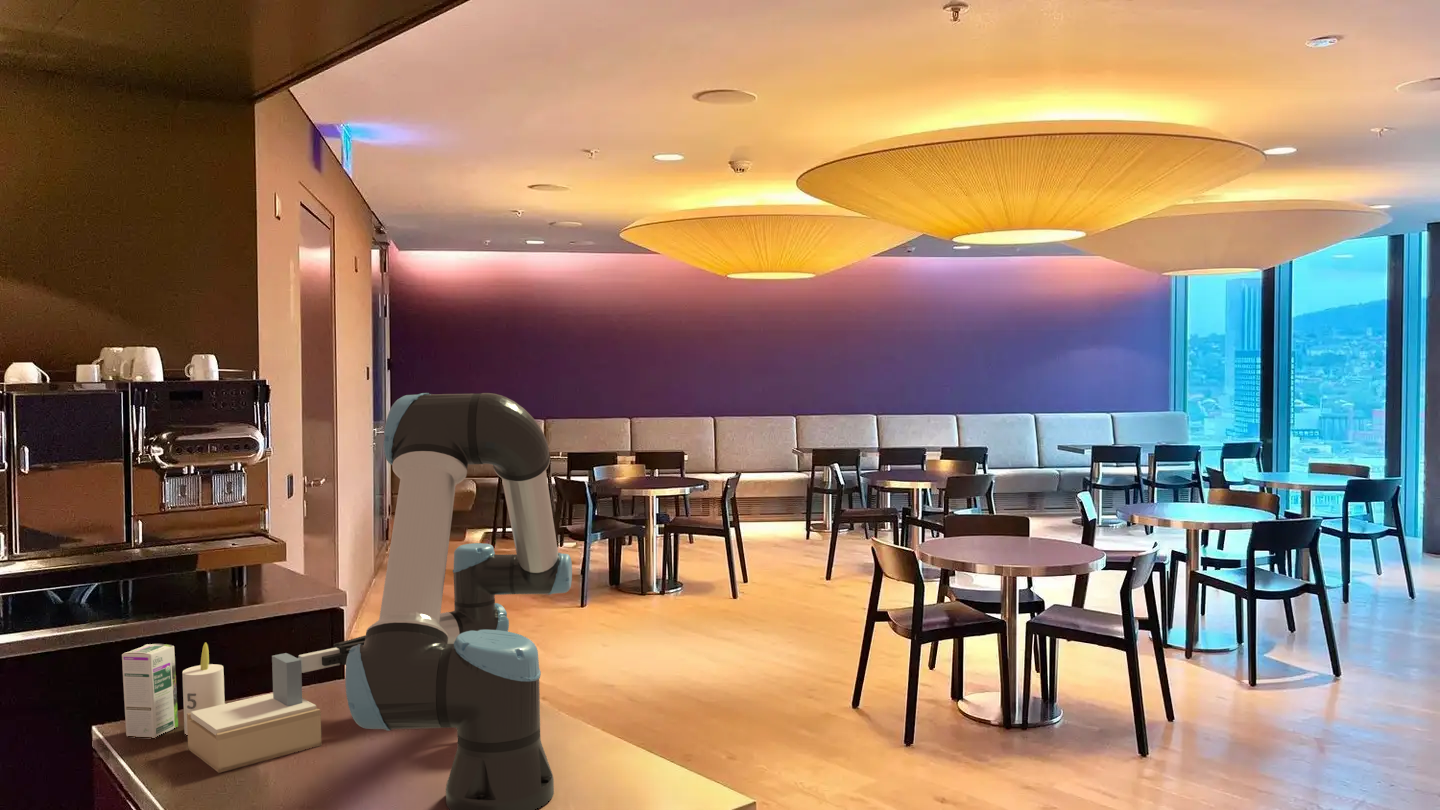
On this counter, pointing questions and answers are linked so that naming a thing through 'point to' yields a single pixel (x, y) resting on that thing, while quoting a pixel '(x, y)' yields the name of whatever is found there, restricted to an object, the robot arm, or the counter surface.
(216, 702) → the candle
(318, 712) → the box
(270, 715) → the lid
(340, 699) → the counter surface
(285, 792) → the counter surface
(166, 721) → the syrup box
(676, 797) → the counter surface
